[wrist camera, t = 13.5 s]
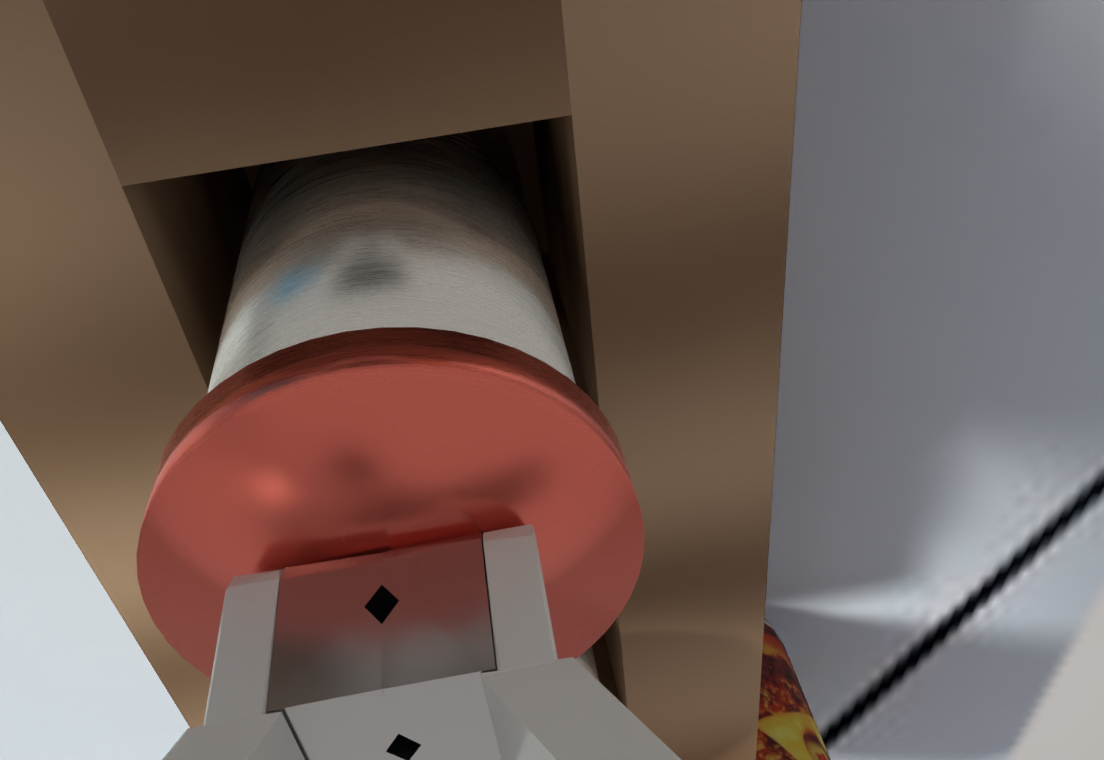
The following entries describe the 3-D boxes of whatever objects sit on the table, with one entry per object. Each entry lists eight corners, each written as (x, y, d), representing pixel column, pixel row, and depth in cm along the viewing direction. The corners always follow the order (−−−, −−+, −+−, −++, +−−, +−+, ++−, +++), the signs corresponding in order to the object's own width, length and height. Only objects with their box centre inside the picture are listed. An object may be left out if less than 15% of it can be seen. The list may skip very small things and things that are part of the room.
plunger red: (200, 69, 15) (43, 435, 8) (515, 21, 15) (632, 335, 8) (288, 329, 18) (231, 754, 11) (548, 285, 18) (653, 675, 11)
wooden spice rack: (-445, -1100, 9) (-1576, -2134, 4) (630, -1192, 10) (934, -2210, 5) (300, 624, 27) (281, 874, 21) (679, 555, 27) (754, 781, 22)
